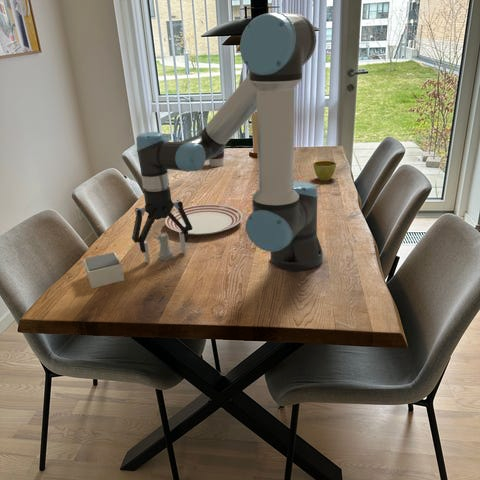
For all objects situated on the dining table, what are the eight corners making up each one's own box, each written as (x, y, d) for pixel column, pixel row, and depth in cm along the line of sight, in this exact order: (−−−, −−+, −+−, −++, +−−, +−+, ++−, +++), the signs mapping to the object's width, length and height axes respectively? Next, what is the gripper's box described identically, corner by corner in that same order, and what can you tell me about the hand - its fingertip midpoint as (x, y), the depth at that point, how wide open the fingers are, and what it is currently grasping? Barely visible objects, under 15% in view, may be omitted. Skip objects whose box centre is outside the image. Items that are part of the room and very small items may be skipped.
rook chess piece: (166, 253, 144) (163, 230, 141) (176, 257, 141) (173, 233, 138) (155, 259, 141) (152, 235, 138) (165, 262, 138) (162, 238, 135)
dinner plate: (258, 223, 163) (258, 214, 162) (198, 248, 147) (197, 238, 145) (209, 207, 182) (209, 199, 181) (151, 227, 166) (149, 219, 164)
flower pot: (333, 175, 211) (333, 159, 208) (338, 181, 202) (338, 165, 199) (311, 176, 211) (311, 161, 208) (315, 183, 202) (315, 167, 199)
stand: (124, 280, 129) (121, 263, 127) (91, 288, 126) (88, 271, 124) (118, 267, 137) (114, 251, 135) (86, 275, 134) (83, 258, 132)
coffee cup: (225, 167, 236) (223, 137, 230) (206, 168, 236) (203, 138, 230) (226, 162, 245) (224, 133, 239) (208, 163, 245) (205, 135, 239)
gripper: (190, 177, 139) (197, 243, 148) (113, 191, 131) (125, 261, 140) (198, 183, 133) (205, 252, 142) (118, 198, 125) (131, 270, 134)
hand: (166, 256), depth 141 cm, fingers open, 11 cm apart
